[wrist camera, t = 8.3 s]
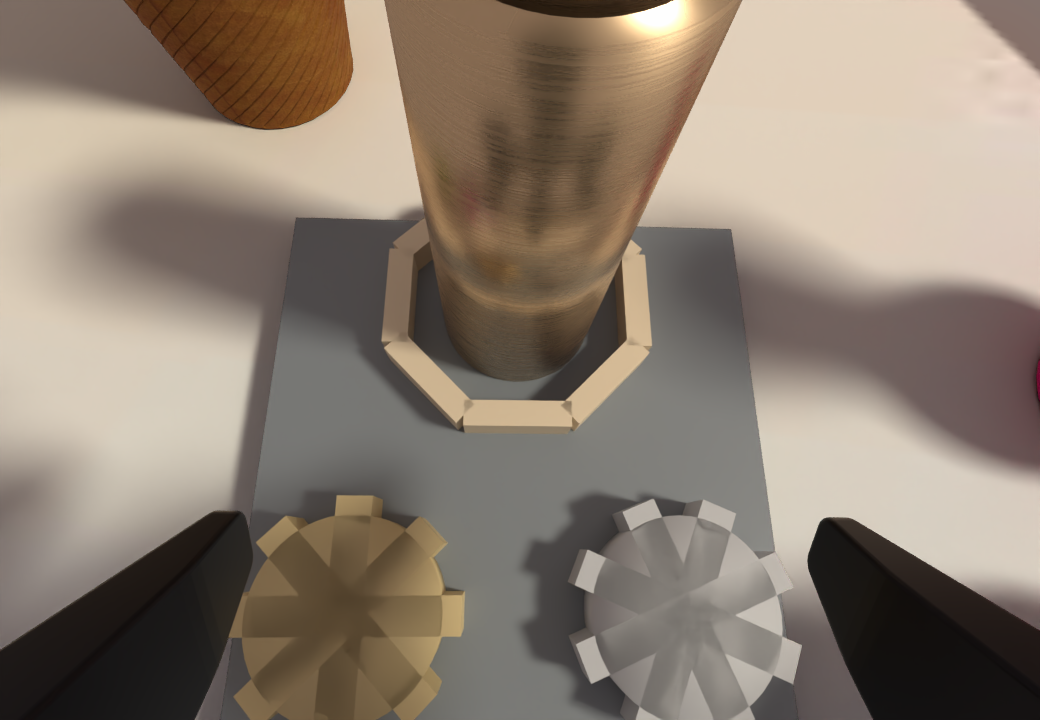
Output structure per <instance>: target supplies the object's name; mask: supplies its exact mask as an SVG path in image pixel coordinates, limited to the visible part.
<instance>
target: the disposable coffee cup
mask: <svg viewBox="0 0 1040 720" xmlns="http://www.w3.org/2000/svg"><path fill="white" fill-rule="evenodd" d="M124 1H125V2H126V3H127V5H128V6H129V7H130V8H131V9H132V10H133V12H134V13H135V14H136V15H137V16H138V18H139V19H140V20H141V22H142V23H143V25H145V26H146V27H147V28H148V29H149V30H151V33H152V34H153V35H154V36H155V38H156V39H157V40H158V41H159V42H160V43H161V44H162V46H163V47H164V48H165V49H166V50H167V52H168V53H169V54H170V55H171V56H172V58H174V60H175V61H176V62H177V63H178V65H179V66H180V67H181V68H182V69H183V70H184V71H185V73H186V74H187V75H188V76H189V78H190V79H191V80H192V81H193V82H194V83H195V85H196V86H197V87H198V88H199V89H200V91H201V92H202V93H203V94H204V95H205V96H206V98H207V99H208V100H209V102H210V103H211V104H212V105H213V106H214V107H215V109H216V110H217V111H219V112H220V113H221V114H222V115H224V116H225V117H227V118H229V119H231V120H233V121H235V122H237V123H239V124H243V125H247V126H251V127H255V128H264V129H275V128H286V127H291V126H296V125H300V124H302V123H305V122H308V121H310V120H313V119H314V118H316V117H318V116H319V115H321V114H323V113H324V112H326V111H328V110H329V109H330V108H331V107H332V106H334V105H335V104H336V103H337V102H338V100H339V99H340V98H341V96H342V95H343V94H344V93H345V91H346V89H347V87H348V85H349V83H350V81H351V77H352V73H353V58H352V54H351V47H350V40H349V33H348V27H347V18H346V12H345V4H344V0H124Z"/></svg>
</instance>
